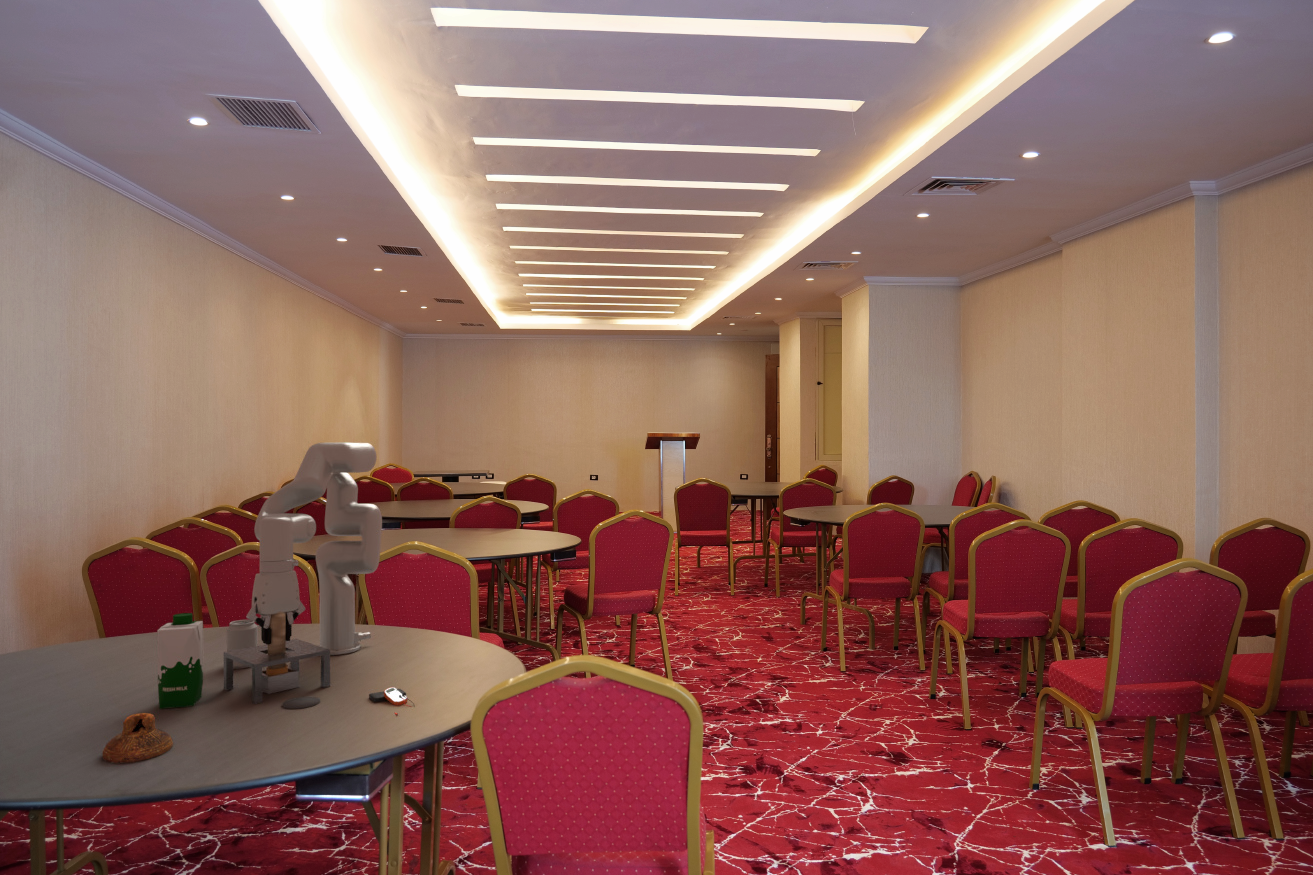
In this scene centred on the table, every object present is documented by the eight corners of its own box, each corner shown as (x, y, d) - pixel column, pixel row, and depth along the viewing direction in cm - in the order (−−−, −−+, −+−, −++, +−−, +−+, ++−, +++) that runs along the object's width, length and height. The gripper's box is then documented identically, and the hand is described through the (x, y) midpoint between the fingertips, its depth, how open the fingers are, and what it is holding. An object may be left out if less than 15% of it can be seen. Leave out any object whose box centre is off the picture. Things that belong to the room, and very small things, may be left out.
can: (263, 662, 228) (263, 618, 228) (247, 669, 221) (247, 624, 221) (237, 661, 229) (237, 618, 229) (220, 669, 221) (220, 624, 222)
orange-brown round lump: (282, 680, 207) (282, 663, 207) (291, 684, 204) (291, 666, 204) (262, 685, 204) (262, 667, 204) (271, 688, 201) (271, 670, 201)
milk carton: (206, 695, 198) (206, 611, 198) (196, 707, 189) (196, 619, 189) (165, 698, 196) (164, 613, 196) (153, 710, 187) (152, 621, 187)
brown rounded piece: (184, 741, 168) (184, 705, 168) (150, 763, 156) (150, 725, 156) (125, 742, 167) (125, 706, 168) (87, 765, 155) (87, 726, 156)
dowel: (281, 664, 207) (281, 599, 207) (288, 666, 204) (288, 601, 204) (264, 667, 204) (264, 601, 204) (272, 670, 201) (272, 603, 201)
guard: (296, 673, 217) (296, 638, 217) (330, 686, 205) (329, 649, 205) (223, 688, 203) (223, 651, 203) (255, 703, 191) (255, 664, 191)
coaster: (310, 695, 197) (310, 694, 197) (326, 702, 191) (326, 700, 192) (276, 704, 191) (276, 702, 191) (291, 711, 186) (291, 709, 186)
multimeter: (440, 711, 186) (440, 696, 186) (385, 721, 180) (384, 705, 180) (419, 692, 201) (419, 677, 201) (368, 700, 195) (368, 685, 195)
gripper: (302, 562, 213) (303, 633, 213) (234, 569, 200) (234, 645, 200) (316, 564, 208) (316, 638, 208) (247, 572, 195) (247, 650, 195)
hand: (276, 641), depth 204 cm, fingers closed on dowel, 4 cm apart
